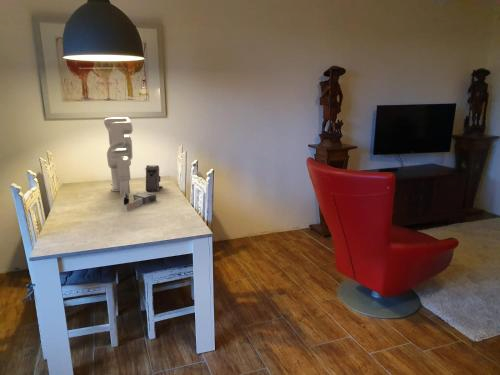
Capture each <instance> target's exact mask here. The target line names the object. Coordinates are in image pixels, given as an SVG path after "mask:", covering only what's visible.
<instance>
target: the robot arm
mask: <svg viewBox="0 0 500 375" xmlns="http://www.w3.org/2000/svg"><path fill="white" fill-rule="evenodd" d="M103 124H104V127H105V128H106V130H107V132H108V140H109V147H108V149H107V152H106V157H107V158H106V159H107V165H108V168H109V169H110V172H111V173H110V174H111V183H110V186H111V188H110V191H112V192H119V196H120V197H122V196H123V205H124V206H126V204H128V203H130V196H129V195H130V193H131V187H130V186H131V185H130V181H131V180H132V178H131V171H130V169H131V168H130V166H131V164H132V162H131V161H132V159H133V140H132V137H131V136H129V135H130V134H132V133H133V131H134V130H133V125H132V124H133V123H132V121H131V120H130V118H129V117H106V118H105V119H104V120H103Z"/></svg>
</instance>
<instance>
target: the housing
mask: <svg viewBox="0 0 500 375" xmlns="http://www.w3.org/2000/svg"><path fill="white" fill-rule="evenodd" d="M132 196H133V201H135V200H137V199H140V198H141V197H143V200H144V204H143V205H147V204H151V203H153V202H156V201H157V194H156V193H152V192H147V191H142V192H138V193H135V194H133V195H132Z"/></svg>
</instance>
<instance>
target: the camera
mask: <svg viewBox="0 0 500 375" xmlns="http://www.w3.org/2000/svg"><path fill="white" fill-rule="evenodd" d="M160 183H161V176H160V166H159V165H158V164H157V165H155V164H154V165H152V164H151V165H146V167H145V192H149V193H152V192H154V193H155V192H157V193H158V192H159V190H160V188H163V186H162V185H161V186H160Z"/></svg>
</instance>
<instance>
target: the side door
mask: <svg viewBox="0 0 500 375" xmlns="http://www.w3.org/2000/svg"><path fill="white" fill-rule="evenodd" d="M141 205H145V204H144V200H143V197H141V198H140V199H137V200H135V201H134V200H133V201H131V202H130V201H129V203H128V204H126V205H125V211H126V212H128V211H130V210H132V209H135V208H137V207H139V206H141Z"/></svg>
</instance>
